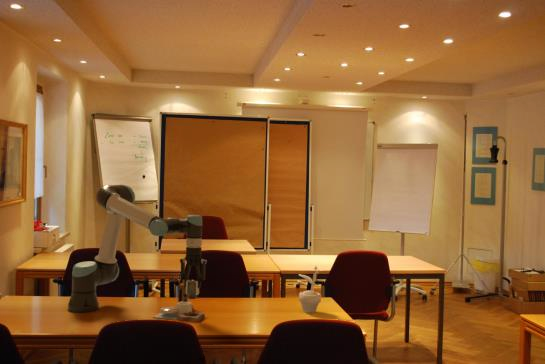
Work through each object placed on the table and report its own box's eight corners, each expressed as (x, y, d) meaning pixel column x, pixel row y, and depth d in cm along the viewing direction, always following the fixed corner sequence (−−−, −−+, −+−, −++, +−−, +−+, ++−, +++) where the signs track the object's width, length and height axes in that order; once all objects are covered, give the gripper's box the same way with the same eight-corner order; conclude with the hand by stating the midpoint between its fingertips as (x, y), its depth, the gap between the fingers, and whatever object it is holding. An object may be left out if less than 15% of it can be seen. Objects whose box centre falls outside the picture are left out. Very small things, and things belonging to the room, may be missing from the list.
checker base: (153, 317, 272) (153, 316, 272) (162, 312, 284) (162, 311, 284) (176, 320, 269) (176, 319, 269) (185, 314, 281) (185, 313, 281)
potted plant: (323, 311, 298) (325, 264, 297) (315, 315, 287) (317, 267, 287) (301, 308, 303) (303, 262, 303) (293, 312, 292) (295, 265, 292)
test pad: (157, 313, 273) (157, 310, 273) (164, 309, 282) (164, 306, 282) (174, 315, 271) (174, 311, 271) (181, 310, 280) (181, 307, 280)
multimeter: (193, 313, 284) (194, 274, 284) (175, 311, 286) (176, 272, 286) (202, 306, 299) (204, 269, 298) (185, 304, 301) (186, 268, 300)
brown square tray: (178, 320, 269) (178, 316, 269) (185, 315, 279) (185, 311, 279) (197, 322, 267) (197, 318, 267) (204, 317, 277) (204, 313, 277)
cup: (175, 316, 277) (176, 304, 277) (180, 313, 283) (180, 301, 283) (187, 317, 276) (187, 305, 276) (191, 314, 282) (191, 302, 281)
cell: (186, 298, 271) (187, 280, 271) (189, 296, 276) (190, 279, 275) (195, 299, 270) (195, 281, 270) (198, 297, 275) (198, 279, 275)
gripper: (174, 246, 271) (172, 294, 271) (208, 248, 267) (206, 297, 267) (179, 244, 278) (178, 291, 278) (213, 246, 274) (211, 293, 275)
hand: (192, 294), depth 273 cm, fingers closed on cell, 4 cm apart
